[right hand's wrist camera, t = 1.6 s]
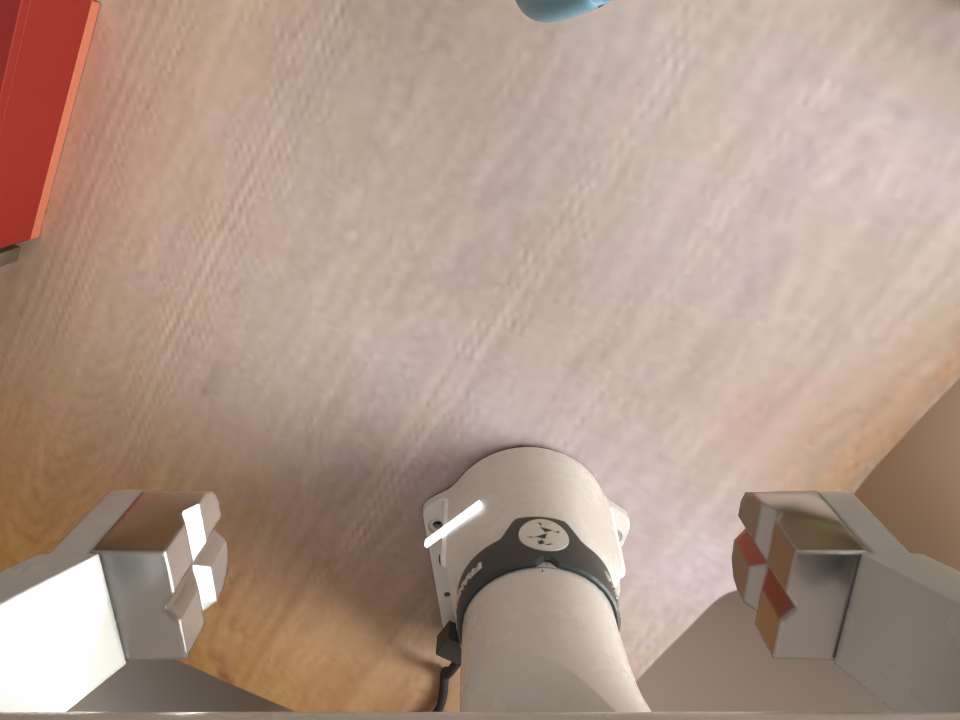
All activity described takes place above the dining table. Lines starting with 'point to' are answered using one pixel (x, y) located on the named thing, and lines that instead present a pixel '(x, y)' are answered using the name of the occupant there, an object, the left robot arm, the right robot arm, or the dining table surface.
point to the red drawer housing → (37, 102)
